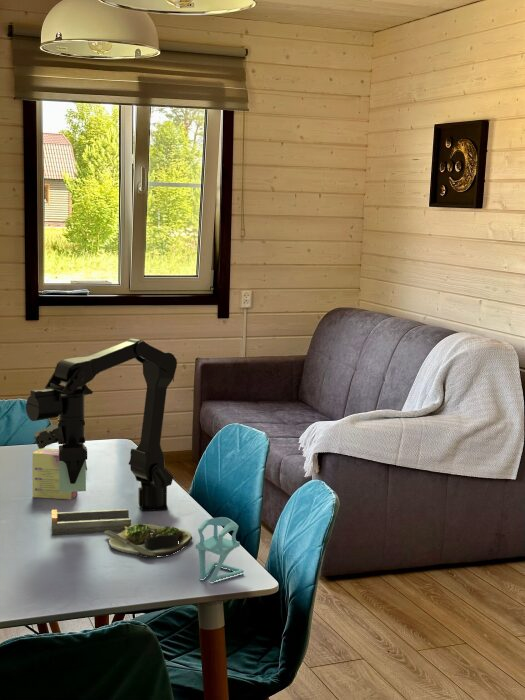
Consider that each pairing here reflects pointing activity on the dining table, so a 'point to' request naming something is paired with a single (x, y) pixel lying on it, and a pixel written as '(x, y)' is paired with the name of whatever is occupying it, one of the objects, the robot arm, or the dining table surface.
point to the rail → (89, 521)
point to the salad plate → (149, 540)
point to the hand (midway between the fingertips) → (72, 480)
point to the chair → (217, 547)
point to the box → (47, 475)
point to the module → (65, 481)
